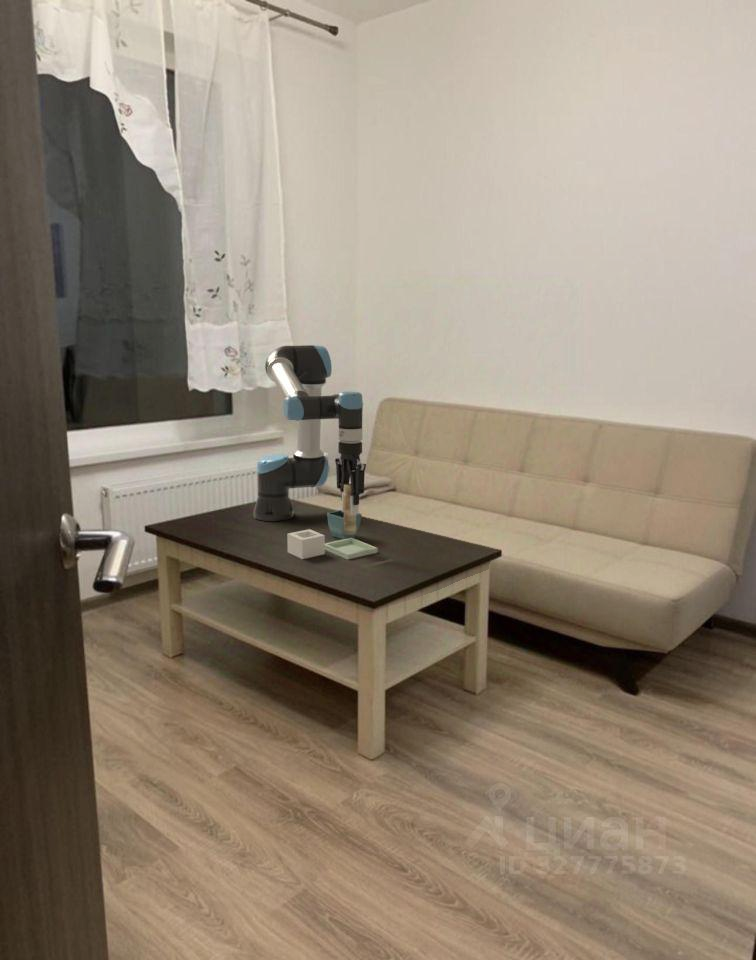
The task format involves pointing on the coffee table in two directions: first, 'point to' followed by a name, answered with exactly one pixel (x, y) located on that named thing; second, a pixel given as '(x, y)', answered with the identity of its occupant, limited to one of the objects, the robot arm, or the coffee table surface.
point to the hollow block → (306, 543)
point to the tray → (350, 548)
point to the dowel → (348, 512)
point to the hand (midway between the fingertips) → (350, 512)
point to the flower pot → (341, 524)
